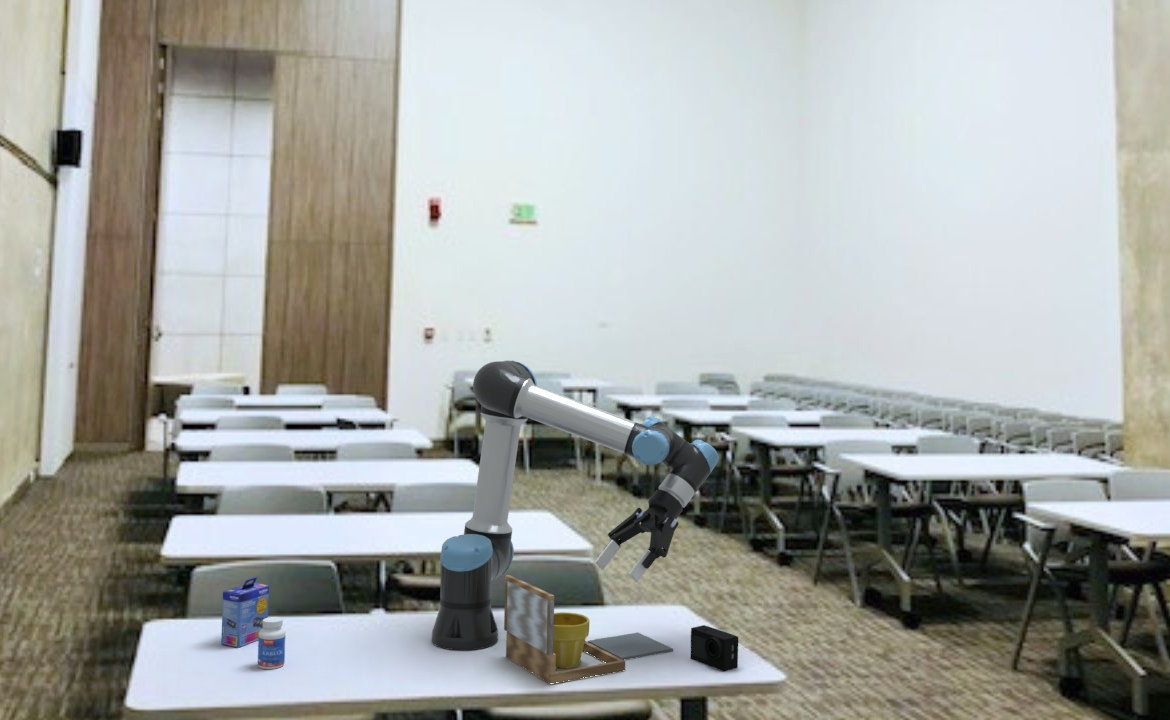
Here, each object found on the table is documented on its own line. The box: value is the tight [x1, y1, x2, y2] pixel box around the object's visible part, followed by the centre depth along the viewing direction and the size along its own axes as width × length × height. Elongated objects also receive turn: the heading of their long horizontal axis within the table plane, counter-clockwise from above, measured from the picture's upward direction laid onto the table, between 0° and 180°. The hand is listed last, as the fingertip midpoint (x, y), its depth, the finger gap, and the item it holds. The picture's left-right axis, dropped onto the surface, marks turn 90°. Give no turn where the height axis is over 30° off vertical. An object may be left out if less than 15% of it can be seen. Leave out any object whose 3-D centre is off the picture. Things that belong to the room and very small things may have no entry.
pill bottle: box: [257, 616, 286, 670], centre depth 205 cm, size 6×5×10 cm
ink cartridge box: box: [220, 576, 270, 649], centre depth 222 cm, size 10×6×14 cm, turn 158°
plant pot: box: [553, 611, 590, 669], centre depth 210 cm, size 10×10×10 cm
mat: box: [587, 632, 674, 661], centre depth 223 cm, size 14×14×1 cm
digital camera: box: [690, 625, 739, 672], centre depth 212 cm, size 10×5×7 cm, turn 38°
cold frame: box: [503, 574, 626, 684], centre depth 210 cm, size 20×19×18 cm
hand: (615, 571), depth 216 cm, fingers open, 13 cm apart
